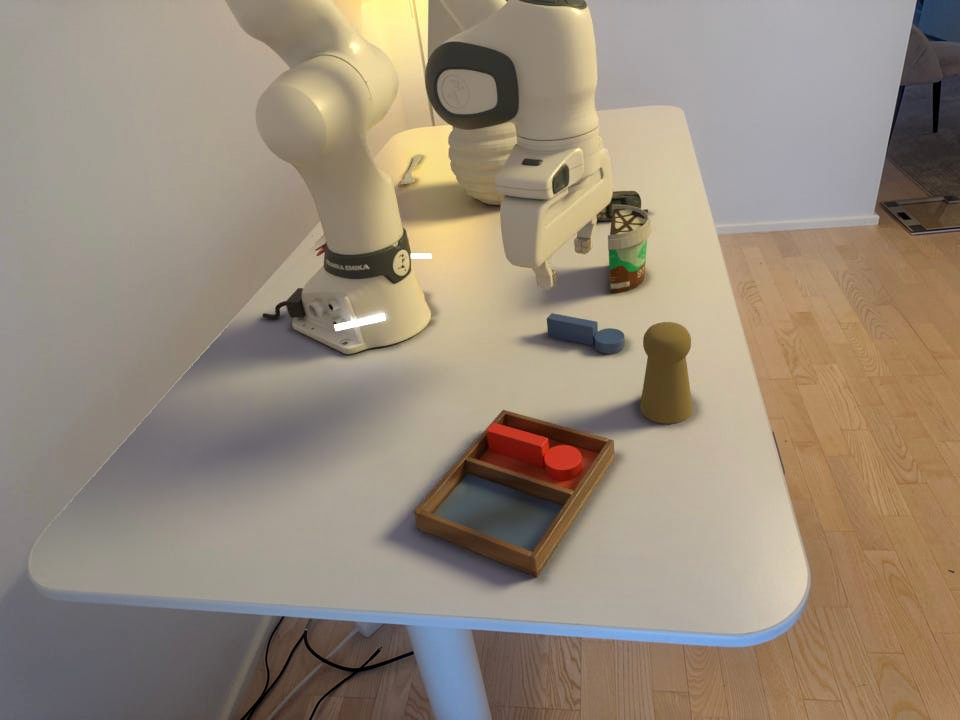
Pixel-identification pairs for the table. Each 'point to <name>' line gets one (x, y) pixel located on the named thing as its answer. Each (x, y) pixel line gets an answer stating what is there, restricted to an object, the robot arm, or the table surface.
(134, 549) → the table surface
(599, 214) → the mobile phone
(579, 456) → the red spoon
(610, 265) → the food container
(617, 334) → the blue block with disc
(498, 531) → the sorting tray
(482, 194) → the table lamp
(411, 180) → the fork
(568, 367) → the table surface
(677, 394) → the brown game pawn
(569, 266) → the table surface
